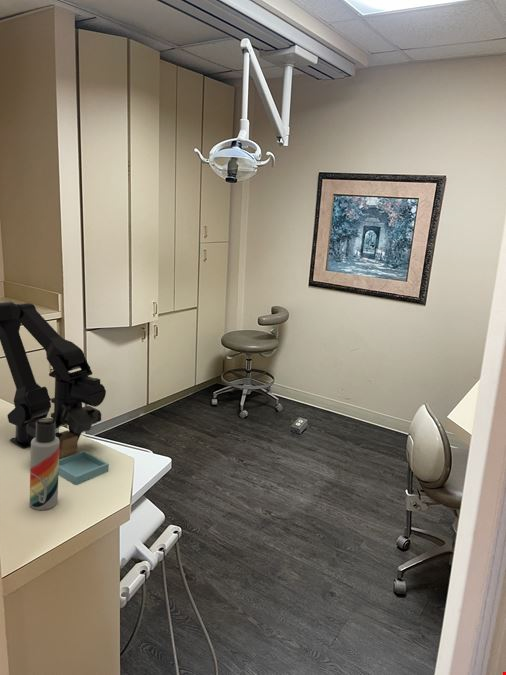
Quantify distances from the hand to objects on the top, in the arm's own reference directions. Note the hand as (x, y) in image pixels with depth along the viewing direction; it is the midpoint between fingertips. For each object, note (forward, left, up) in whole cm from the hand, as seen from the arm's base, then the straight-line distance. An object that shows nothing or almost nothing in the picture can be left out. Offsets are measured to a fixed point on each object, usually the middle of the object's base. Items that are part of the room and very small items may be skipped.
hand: (64, 451), depth 131 cm
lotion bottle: (+15, -16, -2) cm, 22 cm away
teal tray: (+8, -1, -1) cm, 9 cm away
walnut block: (0, 0, -1) cm, 1 cm away
